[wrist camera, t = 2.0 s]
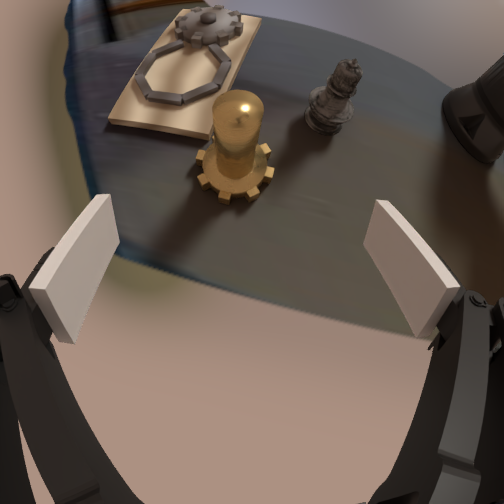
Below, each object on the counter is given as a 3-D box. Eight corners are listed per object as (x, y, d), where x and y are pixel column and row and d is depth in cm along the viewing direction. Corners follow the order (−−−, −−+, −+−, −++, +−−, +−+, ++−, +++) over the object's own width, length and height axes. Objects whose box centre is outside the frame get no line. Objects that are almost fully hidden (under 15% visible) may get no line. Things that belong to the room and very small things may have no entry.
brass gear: (279, 148, 33) (301, 85, 21) (261, 214, 32) (280, 168, 20) (210, 131, 33) (204, 64, 21) (187, 194, 31) (166, 141, 19)
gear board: (260, 24, 37) (263, 5, 32) (209, 140, 32) (207, 120, 28) (183, 15, 36) (181, -4, 32) (111, 123, 32) (99, 105, 27)
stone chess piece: (311, 139, 34) (343, 78, 22) (296, 103, 34) (319, 40, 22) (350, 135, 34) (391, 80, 22) (334, 100, 35) (366, 43, 23)
